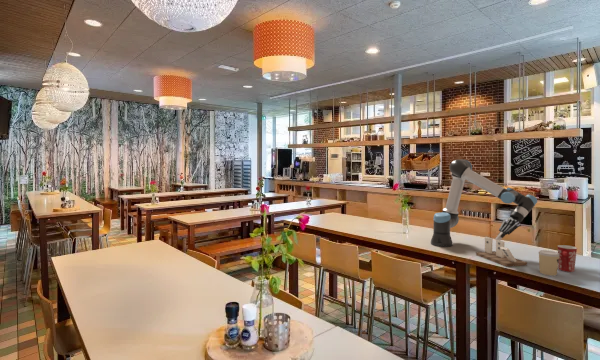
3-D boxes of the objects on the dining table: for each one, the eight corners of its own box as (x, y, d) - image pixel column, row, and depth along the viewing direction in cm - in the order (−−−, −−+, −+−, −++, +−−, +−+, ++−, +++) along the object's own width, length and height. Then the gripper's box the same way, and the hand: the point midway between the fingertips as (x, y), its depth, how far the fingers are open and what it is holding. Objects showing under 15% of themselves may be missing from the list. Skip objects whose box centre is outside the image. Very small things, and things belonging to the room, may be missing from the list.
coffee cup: (562, 276, 186) (563, 255, 185) (542, 275, 187) (543, 254, 187) (553, 271, 195) (553, 250, 194) (534, 270, 197) (535, 249, 196)
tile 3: (507, 260, 210) (499, 248, 208) (510, 258, 210) (501, 246, 208) (514, 262, 205) (506, 250, 203) (516, 260, 205) (508, 248, 203)
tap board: (476, 255, 229) (476, 252, 229) (494, 253, 231) (494, 251, 231) (506, 266, 203) (506, 263, 203) (526, 265, 206) (526, 262, 206)
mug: (558, 266, 203) (559, 244, 203) (577, 270, 196) (578, 247, 196) (552, 271, 195) (553, 247, 194) (572, 275, 188) (573, 250, 187)
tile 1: (484, 251, 229) (484, 236, 229) (486, 251, 229) (486, 236, 229) (489, 253, 224) (490, 238, 224) (492, 253, 225) (492, 238, 224)
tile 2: (495, 255, 219) (495, 240, 219) (497, 255, 220) (498, 240, 219) (501, 257, 214) (501, 242, 214) (504, 257, 215) (504, 241, 214)
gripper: (530, 219, 224) (508, 246, 222) (514, 216, 237) (492, 241, 234) (523, 212, 223) (501, 238, 220) (507, 209, 235) (486, 234, 233)
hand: (496, 240), depth 227 cm, fingers closed
